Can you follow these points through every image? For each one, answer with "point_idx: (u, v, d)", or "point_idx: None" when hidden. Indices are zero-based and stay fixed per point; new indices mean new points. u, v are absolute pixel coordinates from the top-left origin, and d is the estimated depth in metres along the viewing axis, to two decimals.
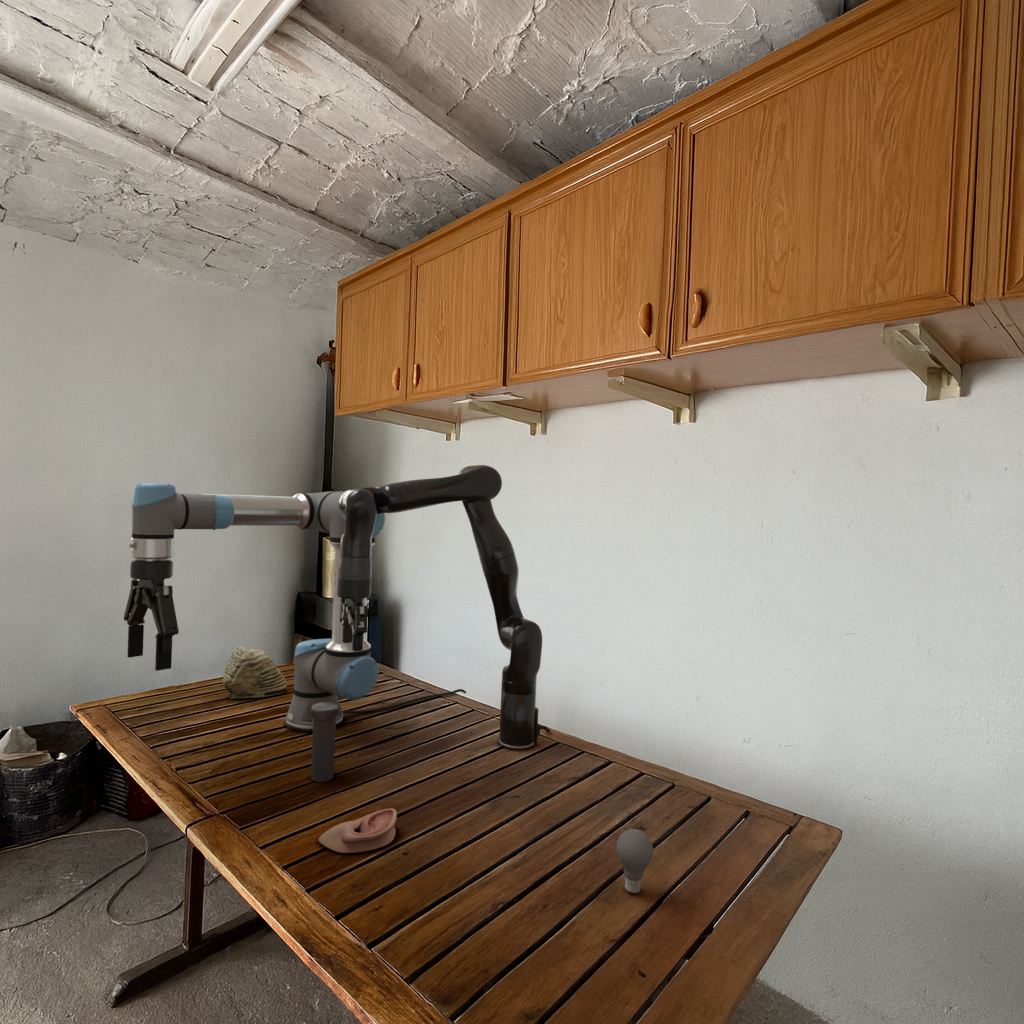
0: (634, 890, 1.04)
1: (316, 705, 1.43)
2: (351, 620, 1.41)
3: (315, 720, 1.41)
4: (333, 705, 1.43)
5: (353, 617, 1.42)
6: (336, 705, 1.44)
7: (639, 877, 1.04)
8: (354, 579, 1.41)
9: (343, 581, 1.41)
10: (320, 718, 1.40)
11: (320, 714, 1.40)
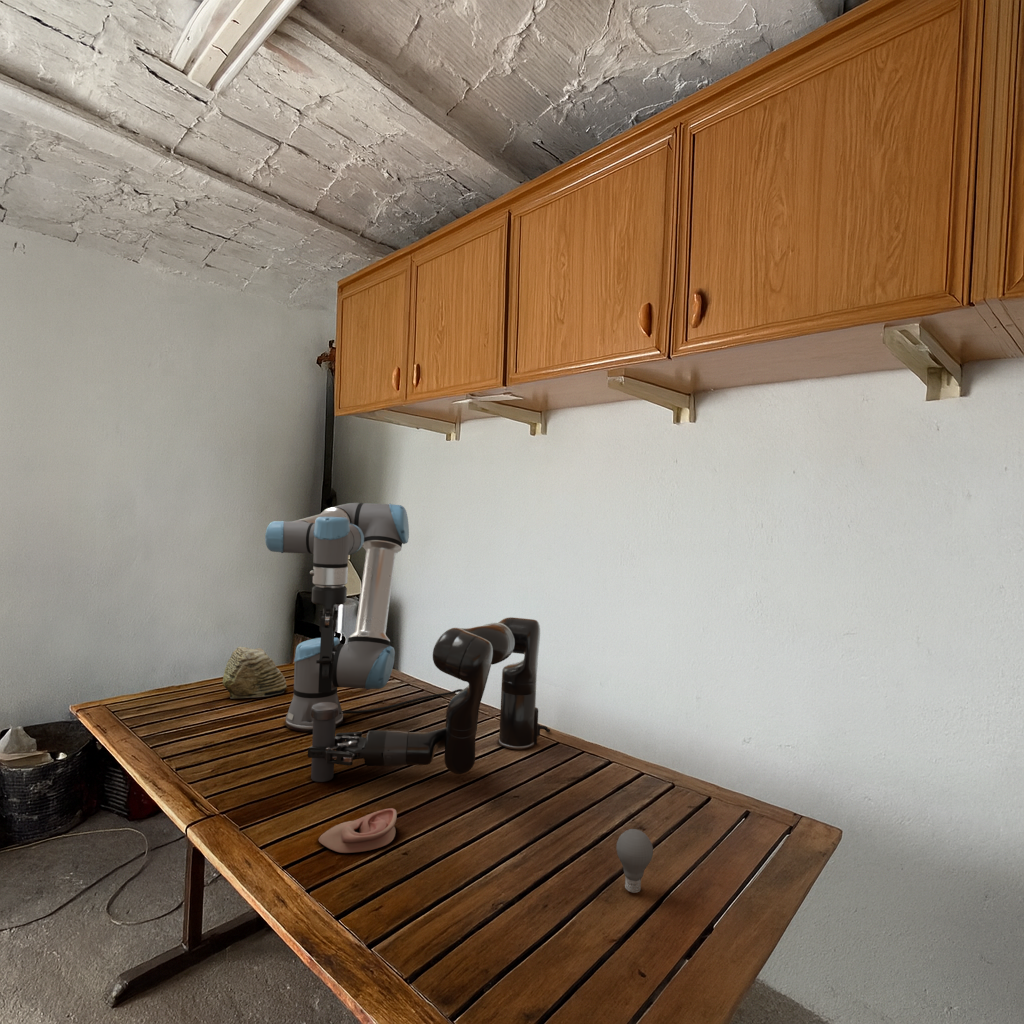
0: (634, 890, 1.04)
1: (316, 705, 1.43)
2: None
3: (315, 720, 1.41)
4: (333, 705, 1.43)
5: None
6: (336, 705, 1.44)
7: (639, 877, 1.04)
8: None
9: None
10: (320, 718, 1.40)
11: (320, 714, 1.40)
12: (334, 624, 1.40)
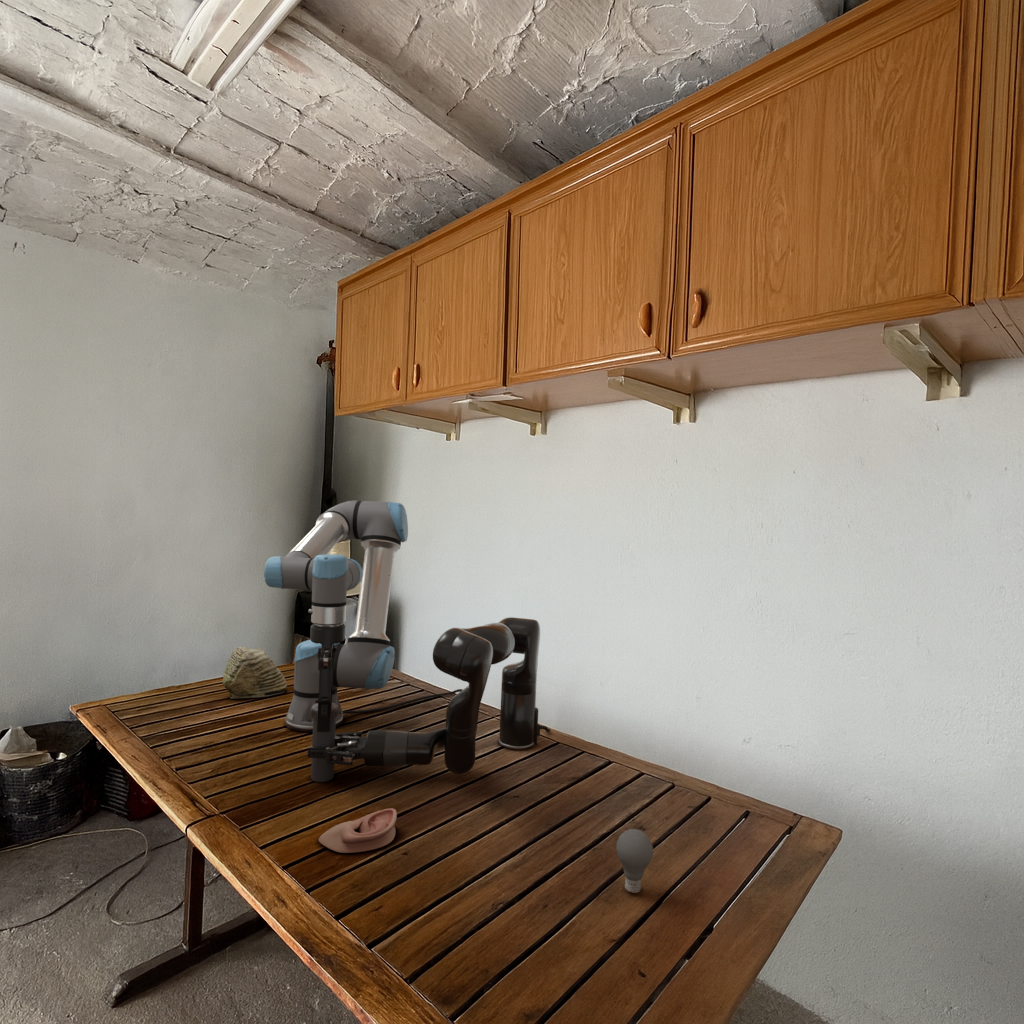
0: (634, 890, 1.04)
1: (316, 705, 1.43)
2: None
3: (315, 720, 1.41)
4: (333, 705, 1.43)
5: None
6: (336, 705, 1.44)
7: (639, 877, 1.04)
8: None
9: None
10: None
11: None
12: (333, 663, 1.40)
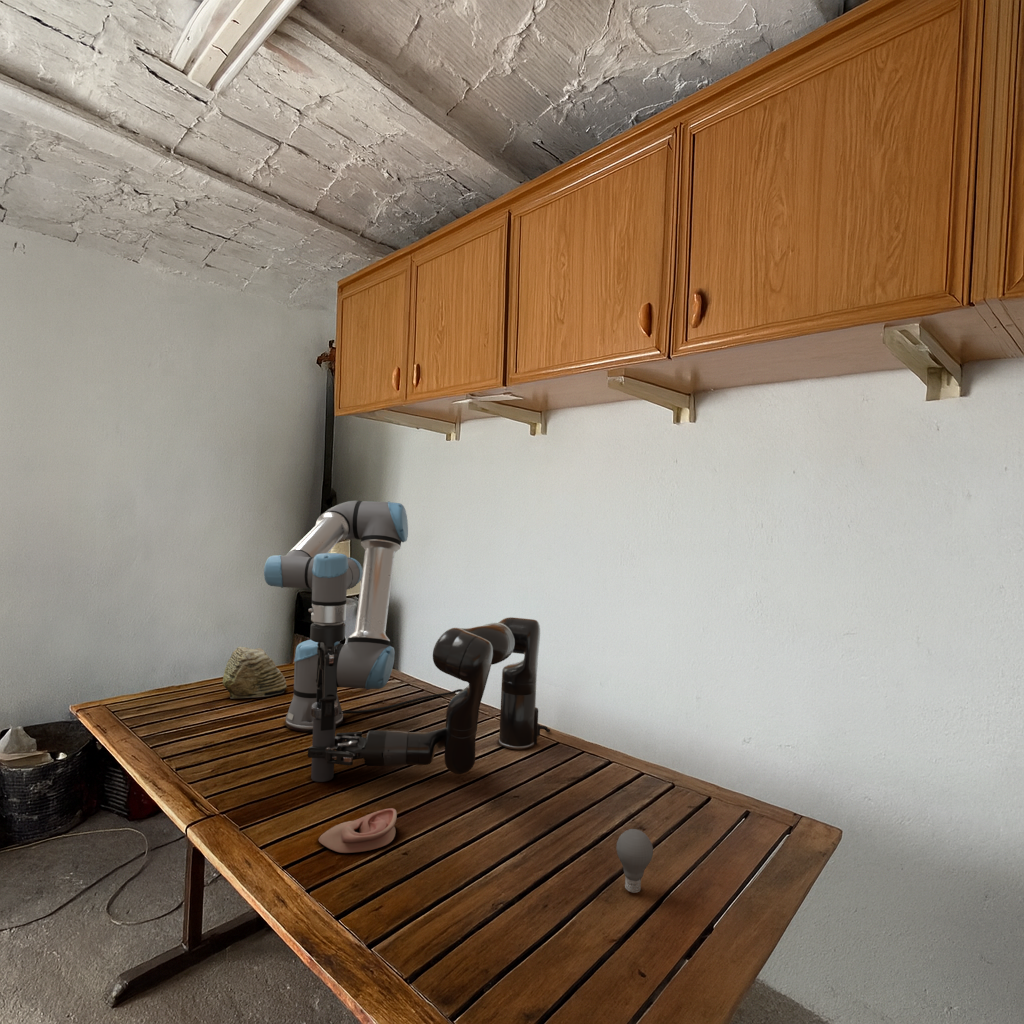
0: (634, 890, 1.04)
1: None
2: None
3: (315, 720, 1.41)
4: None
5: None
6: None
7: (639, 877, 1.04)
8: None
9: None
10: (337, 713, 1.43)
11: (337, 709, 1.42)
12: None
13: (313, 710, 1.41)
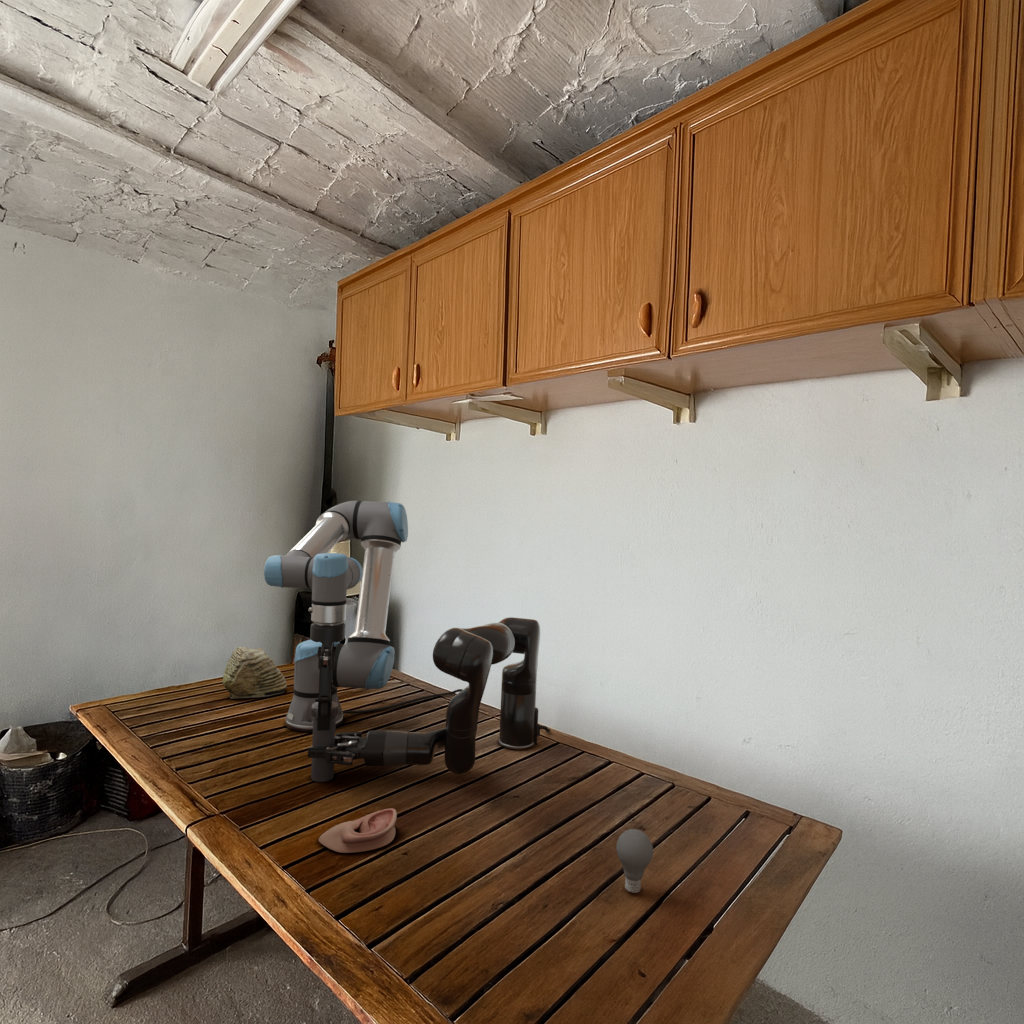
0: (634, 890, 1.04)
1: None
2: None
3: (315, 720, 1.41)
4: None
5: None
6: None
7: (639, 877, 1.04)
8: None
9: None
10: (337, 713, 1.43)
11: (337, 709, 1.42)
12: (333, 662, 1.40)
13: (313, 710, 1.41)
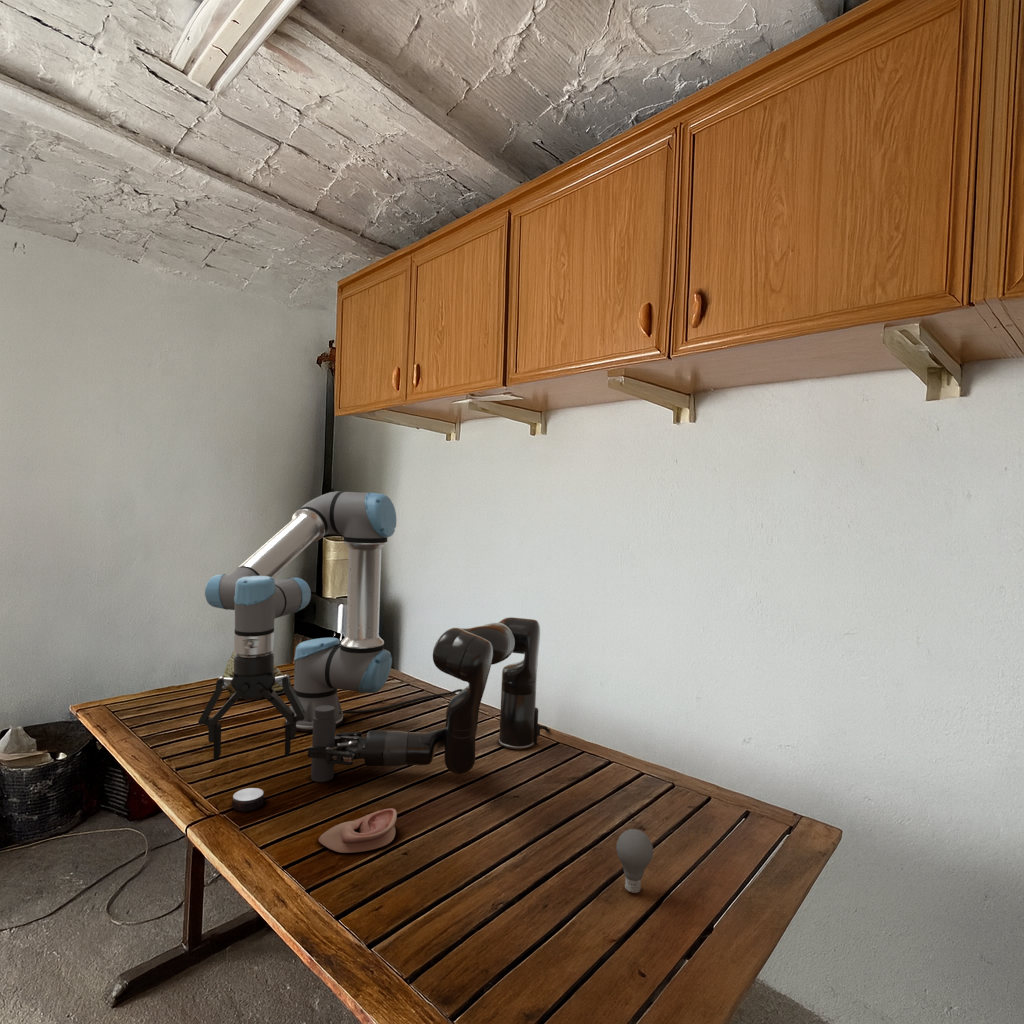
0: (634, 890, 1.04)
1: (257, 795, 1.29)
2: None
3: (315, 720, 1.41)
4: (238, 795, 1.28)
5: None
6: (235, 795, 1.28)
7: (639, 877, 1.04)
8: None
9: None
10: None
11: None
12: (271, 687, 1.31)
13: (254, 802, 1.27)
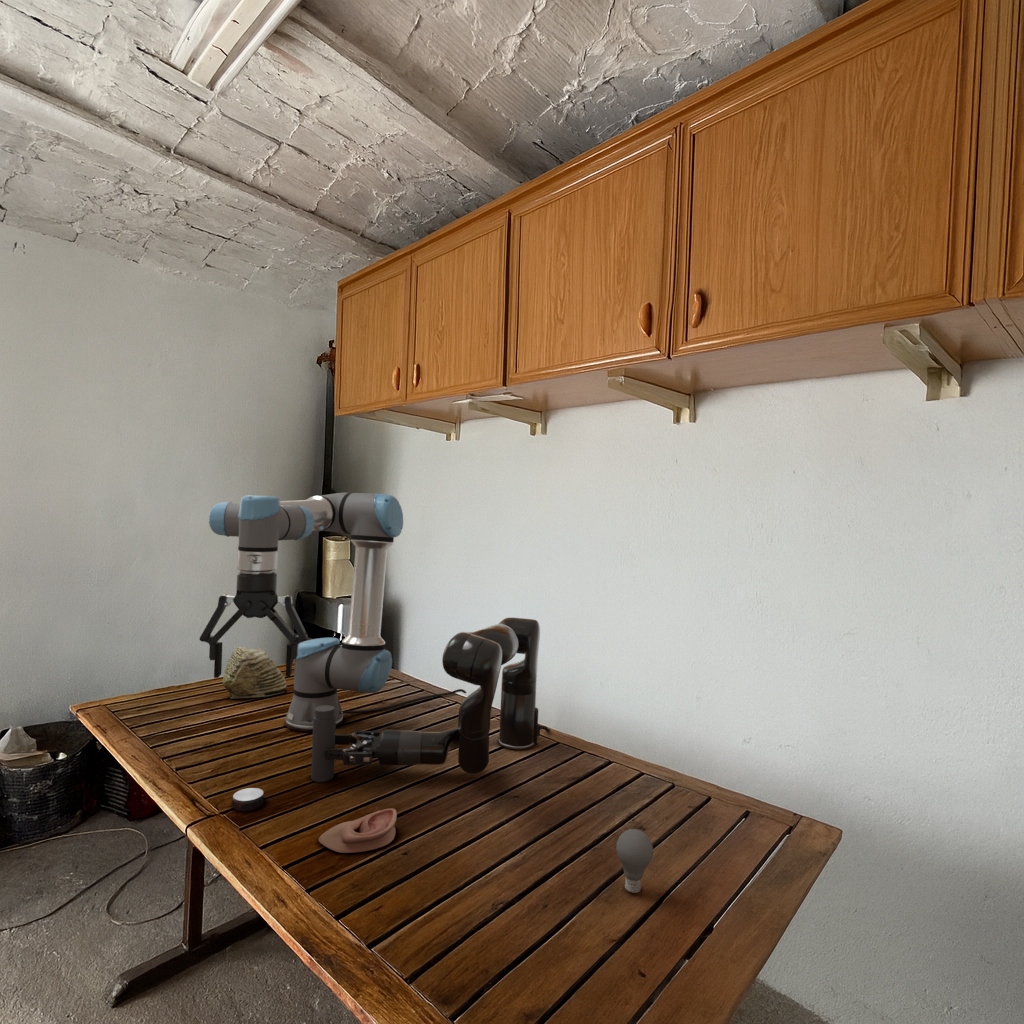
0: (634, 890, 1.04)
1: (257, 795, 1.29)
2: None
3: (315, 720, 1.41)
4: (238, 795, 1.28)
5: None
6: (235, 795, 1.28)
7: (639, 877, 1.04)
8: None
9: None
10: None
11: None
12: (273, 608, 1.31)
13: (254, 802, 1.27)
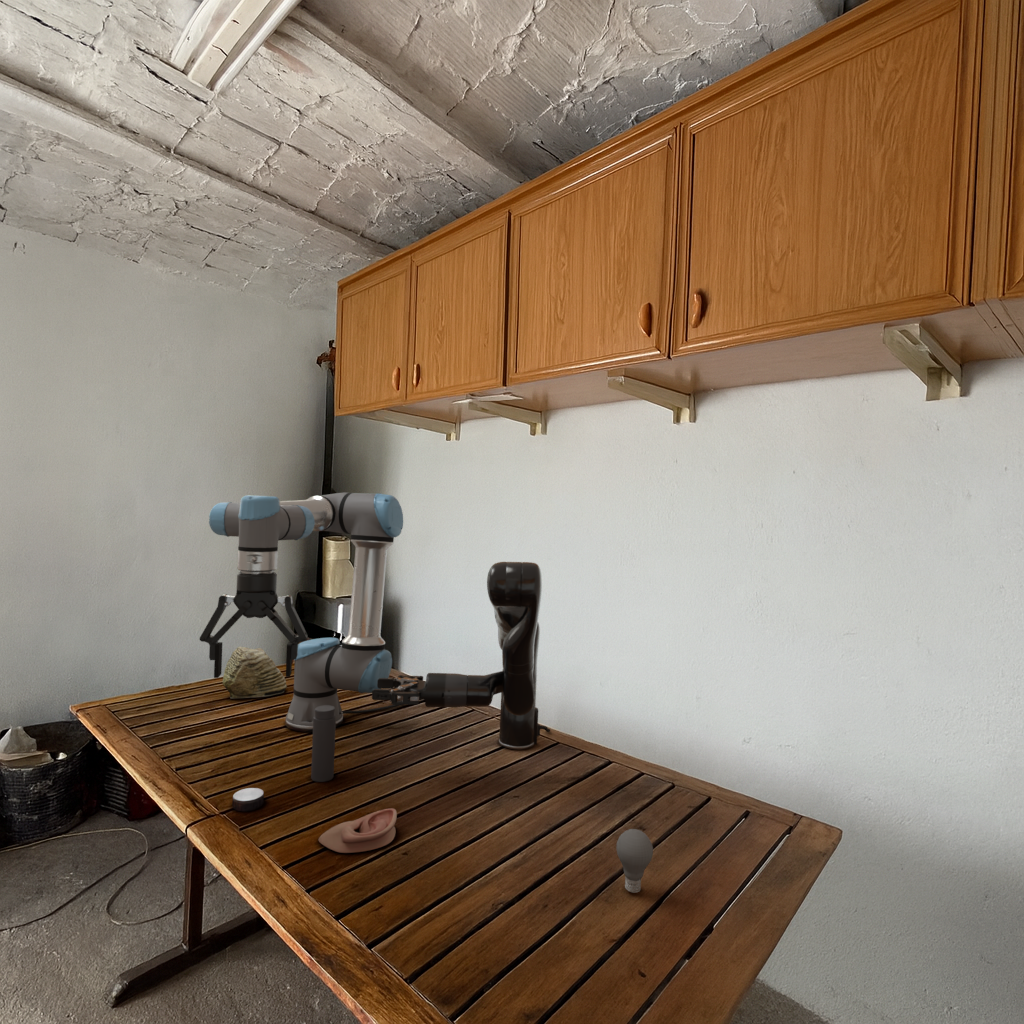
0: (634, 890, 1.04)
1: (257, 795, 1.29)
2: None
3: (315, 720, 1.41)
4: (238, 795, 1.28)
5: None
6: (235, 795, 1.28)
7: (639, 877, 1.04)
8: None
9: None
10: None
11: None
12: (273, 608, 1.31)
13: (254, 802, 1.27)
